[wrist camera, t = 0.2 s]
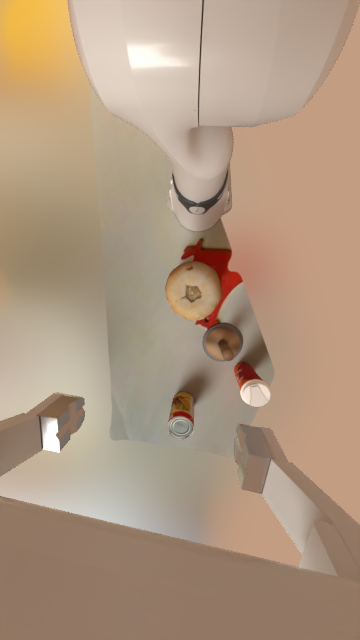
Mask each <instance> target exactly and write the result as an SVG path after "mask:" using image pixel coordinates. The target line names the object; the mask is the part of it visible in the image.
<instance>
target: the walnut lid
mask: <svg viewBox="0 0 360 640" xmlns="http://www.w3.org/2000/svg"><path fill="white" fill-rule="evenodd" d="M239 347H240V339H239V337H238V335H237V334H236V332H235V331H233V330H232V329H230V328H227V327H218V328H215V329H214V330H212V331H211V332H210V333H209V334H208V336H207V338H206V348H207V351H208V352H209V354H210V355H211V356H213V357H214V358H216V359H221V360H224V359H225V360H226V361H231V360H232V359H233V358H234V355H235V354H236V353H237V352H238V350H239Z"/></svg>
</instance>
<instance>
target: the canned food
mask: <svg viewBox="0 0 360 640" xmlns="http://www.w3.org/2000/svg"><path fill="white" fill-rule="evenodd" d="M168 431H169V433H170V434H171V436H173V437H174V438H177V439H187V438H189V437H190V436H191V435H192V434H193V431H194V399H193V397H192V396H191V395H190V394H188V393H185V392H180V393H178V394H176V395H175V396H174V398H173V402H172V407H171V412H170V416H169V421H168Z"/></svg>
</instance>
